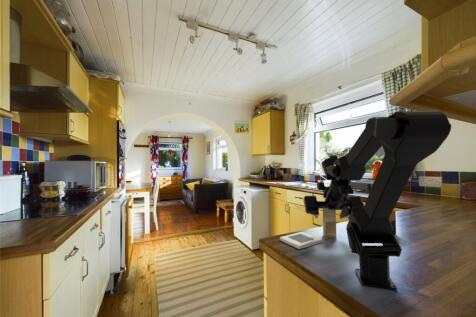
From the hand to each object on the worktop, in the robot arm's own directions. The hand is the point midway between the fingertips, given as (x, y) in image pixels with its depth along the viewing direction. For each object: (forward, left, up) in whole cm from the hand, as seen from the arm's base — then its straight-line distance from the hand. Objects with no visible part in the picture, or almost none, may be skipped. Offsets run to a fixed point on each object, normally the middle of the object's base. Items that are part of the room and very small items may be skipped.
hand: (328, 217), depth 75 cm
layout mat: (-8, +10, -7) cm, 14 cm away
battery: (+6, -20, -7) cm, 22 cm away
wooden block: (-1, 0, -7) cm, 7 cm away
